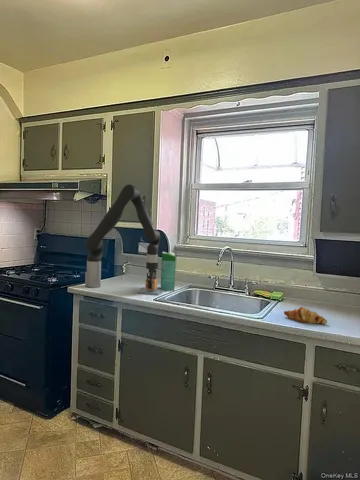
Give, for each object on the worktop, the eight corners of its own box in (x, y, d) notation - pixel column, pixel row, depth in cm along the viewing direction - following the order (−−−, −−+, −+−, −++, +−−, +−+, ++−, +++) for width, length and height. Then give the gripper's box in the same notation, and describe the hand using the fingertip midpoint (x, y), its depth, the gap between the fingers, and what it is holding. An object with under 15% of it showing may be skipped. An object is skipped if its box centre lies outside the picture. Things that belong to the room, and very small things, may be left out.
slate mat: (138, 293, 222) (138, 291, 222) (144, 289, 235) (144, 287, 235) (158, 295, 220) (158, 293, 220) (163, 291, 233) (163, 289, 233)
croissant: (327, 330, 176) (329, 314, 179) (325, 325, 168) (328, 309, 171) (284, 321, 187) (287, 306, 189) (280, 316, 179) (283, 301, 181)
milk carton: (174, 290, 235) (175, 253, 233) (160, 290, 235) (162, 252, 233) (174, 287, 244) (175, 251, 242) (161, 287, 244) (162, 251, 242)
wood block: (145, 289, 225) (145, 279, 225) (148, 287, 231) (148, 278, 231) (154, 290, 224) (154, 280, 223) (156, 288, 230) (157, 279, 229)
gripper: (149, 259, 234) (148, 284, 235) (143, 262, 220) (142, 289, 221) (160, 260, 232) (159, 285, 234) (154, 263, 218) (153, 290, 220)
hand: (151, 287), depth 227 cm, fingers closed on wood block, 6 cm apart
